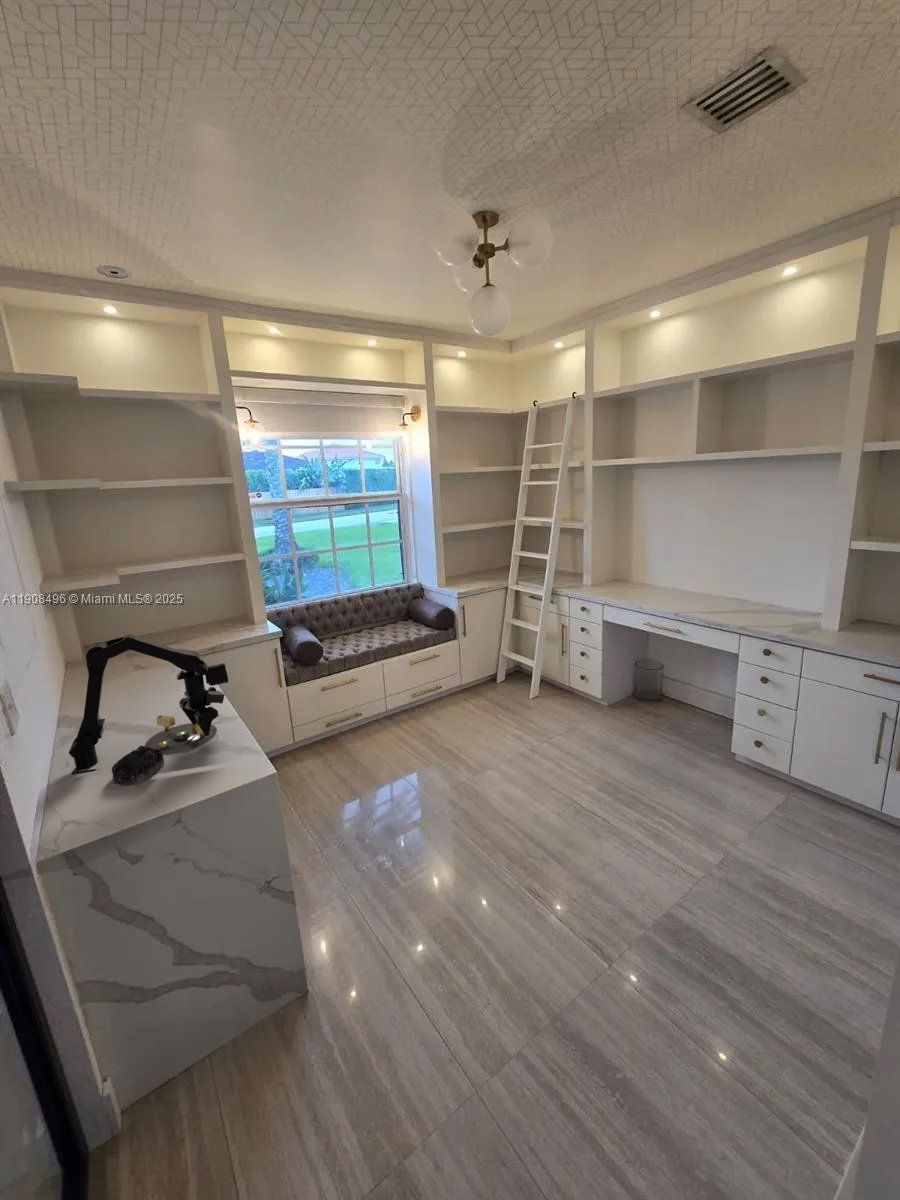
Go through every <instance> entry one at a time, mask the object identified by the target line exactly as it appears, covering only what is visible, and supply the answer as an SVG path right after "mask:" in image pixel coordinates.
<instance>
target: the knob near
mask: <svg viewBox="0 0 900 1200" xmlns="http://www.w3.org/2000/svg"><path fill="white" fill-rule="evenodd" d="M191 727H192V734H196V735H198V734H200V737H201V738H202V737H205V735H204V733H203V732H202V730H201V728H200V727H199V725H198V724H197V723H196V724H194V725H193V726H191ZM210 728H211V727H210Z"/></svg>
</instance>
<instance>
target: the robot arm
mask: <svg viewBox="0 0 900 1200" xmlns="http://www.w3.org/2000/svg"><path fill="white" fill-rule="evenodd" d="M128 651H133V652H137V653H140V654H143V655H146V656H149V657H153V658H155V659H160V660H162V661H166V662H169V663H171V664H172V665H173V666H175V667H177V668H179V669H180V672H178V674H177V675H176V679H177V680H178V681H179V680H180V681H181V680H183V681H184V688H185V689H184V690H185V691H184V692H183V693H184V696H185V697H184V698H181V699H180V701H179V708H180V709H181V711H182V712H183V713H184V714H185V716H186V717H187V718H188V720H189V721H190V723H192V724H193V725H194V724H196V723H197V724H198V725H199V727H200V728H201V730H202V732H203V733H204V735H205V736H208V735H209V733H210V727H211V725H212V723H213V721H214V720H216V719H217V718H218V717H219V710H218V709H216V708H215V707H213V706H211V705H212V704H220V705H221V704H223V703H224V700H225V693H223V692H222V691H219V690H217V688H216V687H215V686H217V685H222V684H223V685H224V684H228V683H229V677H228V676H229V675H228V673H227V668H226V663H225V662H223V663H218V664H214V665H209V666H208V664H207V663H206V662H205V661H204V660H202V659H201V656H200V653H198V652H197V651H195V650H192V649H185V648H174V647H173V648H172V647H169V646H166V645H164V644H160V643H157V642H154V641H150V640H148V639H144V638H141V637H138V636H135V635H134V634H126V635H124V636H121V637H116V638H114V639H110V640H106V641H95V642H94V643H91V644H90V647H89V648H88V650H87V651H86V654H85V663H86V668H87V673H88V678H87V685H86V686H87V687H86V692H85V702H84V710H83V711H84V712H83V718H82V721H81V724H80V726H79V729H78V732H77V735H76V737H75V738H74V739H73V741H72V744H71V746H70V749H69V750H68V754H69V755H70V757H71V758H73V760H74V765H75V768H74V769H73V770H72V771H71V775H76V774H83V773H90V772H95V771H97V768H95V769H91V768H92V767H94V766H95V765H97V764H98V763H99V760H98V754H97V749H96V745H97V744H98V743H99V739H102V738H103V734H104V732H105V729H104V724H105V721H106V718H101V717H100V708H101V701H102V692H103V684H104V678H105V677H104V676H105V670H106V667H107V665H108V662H109V659H112V658H115V657H117V656H119V655H121V654H123V653H125V652H128ZM204 676H205V680H204ZM205 682H206V684H208V686H209V687H208V689H206V687H205Z"/></svg>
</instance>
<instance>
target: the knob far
mask: <svg viewBox="0 0 900 1200" xmlns="http://www.w3.org/2000/svg"><path fill="white" fill-rule="evenodd" d="M155 720H156V725H157V726H160V727H163V728H164V730H165V731H166V732H167V731H170V728H172V727H174V726H176V719H175V716H171V715H162V714H160V715H159V716H157V717H156V719H155Z"/></svg>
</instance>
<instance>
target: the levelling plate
mask: <svg viewBox="0 0 900 1200" xmlns="http://www.w3.org/2000/svg"><path fill="white" fill-rule="evenodd" d="M191 726H193V724H192V722H190V723H185V724H180V725H174V726H171V727H170V731H167V732H166V731H165V729H164V730H162V731H160V732H158V733H156V734H154V735H153V736H151V737H150V738H149V739H148V740H147V741H146V742H145V744H144V746H145V747H146V746H147V747H151V748H153V749H160V750H161V752H162V753H163V756H167V755H168V756H169V755H174V754H180V753H185V752H188V751H192V750H194V749H196V748H199V747H201V746H203V745H205V744H207V743H209V742H210V741H211V740H213V738H214V737H215V736H216V735H217V732H218V729H217V727H216V726H215V725H214V724H211V728H210V733H209V735H208V736H205V737H202V738H201V737H200V734H198V735H196V734H192V727H191Z"/></svg>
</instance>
